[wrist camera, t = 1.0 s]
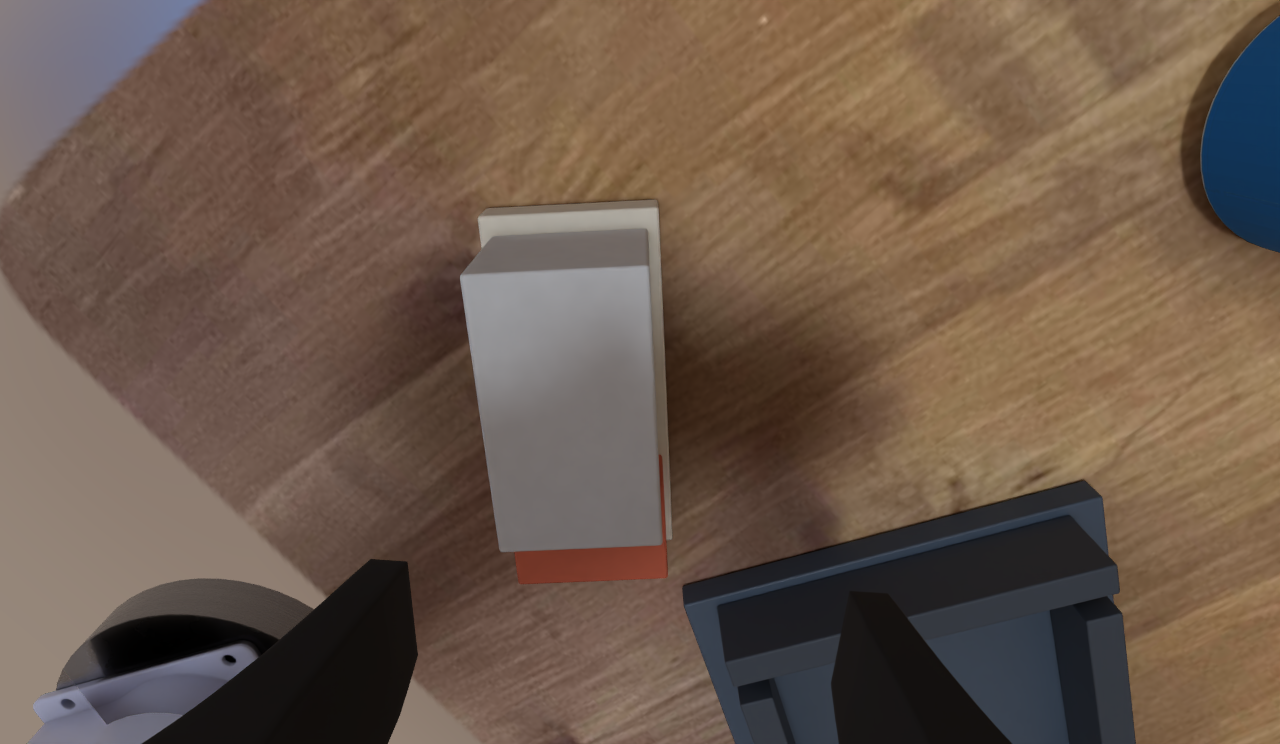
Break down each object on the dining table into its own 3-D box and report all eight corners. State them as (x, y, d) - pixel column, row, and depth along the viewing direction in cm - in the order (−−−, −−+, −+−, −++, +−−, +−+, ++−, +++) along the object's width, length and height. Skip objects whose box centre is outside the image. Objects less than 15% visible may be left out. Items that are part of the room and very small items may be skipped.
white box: (671, 518, 24) (678, 628, 20) (525, 525, 24) (499, 635, 20) (658, 198, 20) (662, 241, 16) (485, 207, 20) (440, 251, 16)
